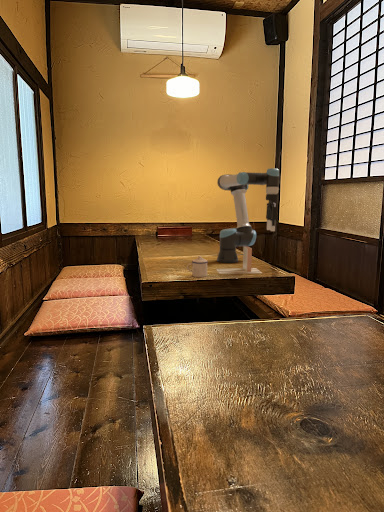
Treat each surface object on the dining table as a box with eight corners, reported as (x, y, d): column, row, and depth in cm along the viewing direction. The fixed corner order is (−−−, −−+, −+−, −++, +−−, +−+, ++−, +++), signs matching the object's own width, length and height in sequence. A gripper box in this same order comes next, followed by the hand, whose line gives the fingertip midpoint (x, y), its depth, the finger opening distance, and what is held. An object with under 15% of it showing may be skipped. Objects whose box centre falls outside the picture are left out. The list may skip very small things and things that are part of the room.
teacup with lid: (208, 274, 218) (208, 255, 216) (206, 277, 209) (207, 257, 207) (188, 273, 220) (188, 254, 218) (186, 277, 211) (186, 257, 209)
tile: (242, 268, 231) (243, 246, 229) (247, 268, 232) (248, 246, 229) (246, 271, 222) (247, 248, 219) (251, 271, 222) (251, 248, 220)
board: (214, 268, 235) (214, 267, 235) (254, 268, 237) (254, 266, 237) (219, 275, 215) (219, 273, 215) (262, 274, 217) (262, 272, 217)
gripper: (283, 193, 217) (281, 232, 220) (273, 194, 237) (271, 229, 240) (270, 193, 216) (269, 232, 220) (261, 194, 236) (260, 229, 240)
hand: (270, 230), depth 230 cm, fingers open, 8 cm apart
